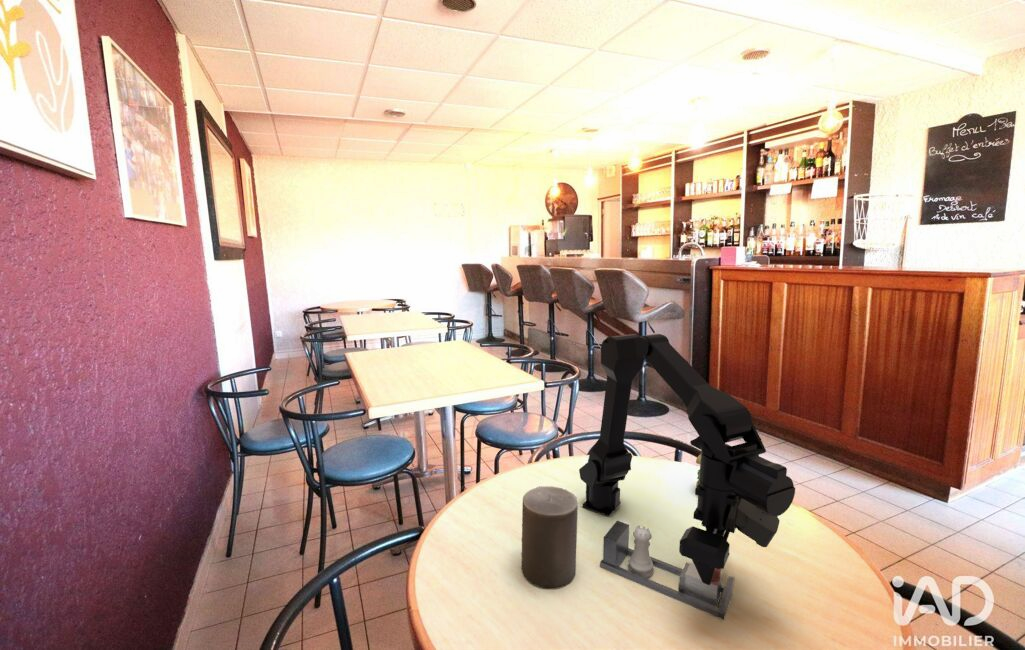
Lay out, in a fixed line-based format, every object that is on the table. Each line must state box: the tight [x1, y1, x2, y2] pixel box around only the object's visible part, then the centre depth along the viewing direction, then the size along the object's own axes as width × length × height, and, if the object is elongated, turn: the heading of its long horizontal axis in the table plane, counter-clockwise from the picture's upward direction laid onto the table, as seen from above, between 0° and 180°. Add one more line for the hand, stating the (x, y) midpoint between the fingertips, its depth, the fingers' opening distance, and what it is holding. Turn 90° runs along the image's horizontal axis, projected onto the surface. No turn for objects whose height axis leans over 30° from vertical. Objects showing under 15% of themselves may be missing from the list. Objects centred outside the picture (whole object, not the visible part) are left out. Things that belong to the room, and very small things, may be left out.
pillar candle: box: [521, 485, 578, 590], centre depth 83 cm, size 10×10×15 cm
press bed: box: [599, 520, 735, 621], centre depth 81 cm, size 21×7×6 cm, turn 55°
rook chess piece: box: [627, 525, 655, 579], centre depth 83 cm, size 4×4×8 cm
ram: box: [678, 561, 723, 608], centre depth 77 cm, size 6×4×10 cm
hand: (711, 570), depth 76 cm, fingers open, 7 cm apart
